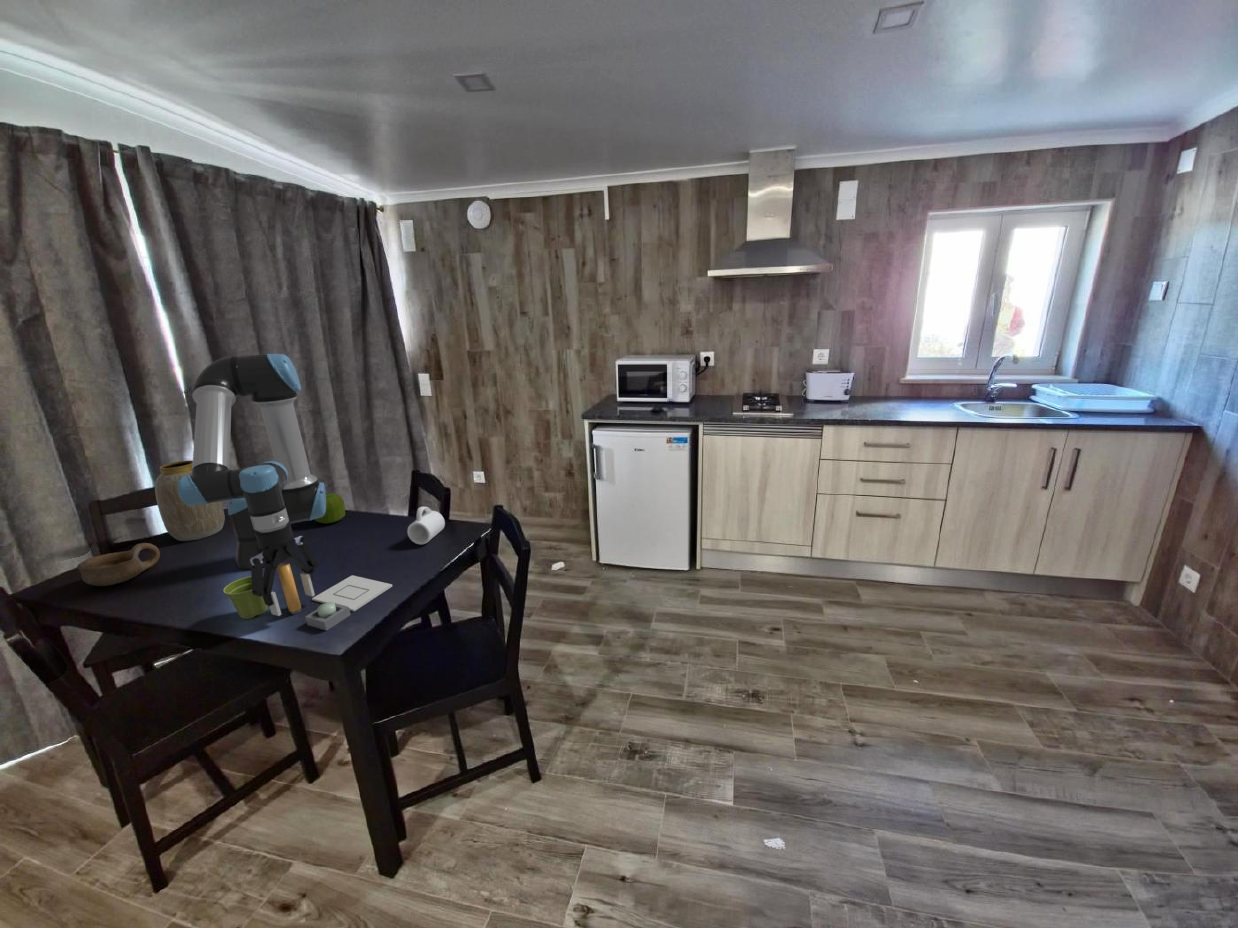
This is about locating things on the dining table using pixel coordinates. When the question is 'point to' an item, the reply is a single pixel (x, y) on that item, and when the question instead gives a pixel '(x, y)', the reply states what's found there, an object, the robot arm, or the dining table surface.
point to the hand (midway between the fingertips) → (293, 604)
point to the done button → (326, 610)
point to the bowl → (117, 566)
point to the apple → (333, 509)
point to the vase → (185, 506)
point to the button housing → (329, 622)
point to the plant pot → (245, 598)
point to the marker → (289, 588)
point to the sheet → (353, 592)
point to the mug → (425, 526)
